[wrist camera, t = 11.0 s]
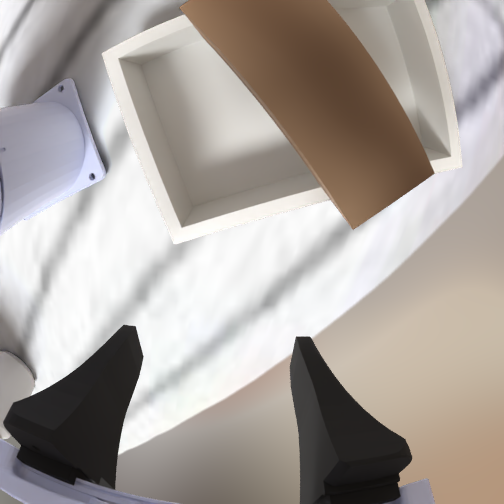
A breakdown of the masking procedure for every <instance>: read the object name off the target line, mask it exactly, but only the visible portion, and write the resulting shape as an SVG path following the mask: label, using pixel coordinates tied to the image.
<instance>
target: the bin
mask: <svg viewBox="0 0 504 504" xmlns="http://www.w3.org/2000/svg"><path fill="white" fill-rule="evenodd" d="M327 1H328V2H329V3H330V4H331V5H332V7H333V8H334V9H335V10H336V11H337V12H338V14H339V15H340V16H341V17H342V19H343V20H344V21H345V22H346V24H347V25H348V26H349V27H350V29H351V30H352V31H353V32H354V34H355V35H356V36H357V38H358V39H359V40H360V42H361V43H362V45H363V46H364V47H365V49H366V50H367V52H368V53H369V54H370V56H371V57H372V59H373V60H374V62H375V63H376V65H377V66H378V68H379V69H380V71H381V72H382V74H383V75H384V77H385V79H386V80H387V82H388V83H389V85H390V87H391V88H392V90H393V92H394V93H395V95H396V97H397V98H398V100H399V102H400V104H401V105H402V107H403V109H404V111H405V113H406V115H407V116H408V118H409V120H410V122H411V124H412V126H413V128H414V130H415V132H416V134H417V136H418V138H419V140H420V142H421V144H422V146H423V148H424V150H425V152H426V155H427V157H428V159H429V161H430V163H431V166H432V168H433V170H434V174H436V173H440V172H444V171H448V170H453V169H457V168H462V158H461V148H460V139H459V131H458V124H457V118H456V112H455V106H454V100H453V95H452V90H451V86H450V81H449V77H448V73H447V69H446V65H445V61H444V57H443V54H442V50H441V47H440V43H439V40H438V37H437V34H436V31H435V28H434V25H433V22H432V19H431V16H430V13H429V11H428V8H427V6H426V3H425V0H327ZM102 57H103V60H104V63H105V66H106V69H107V73H108V76H109V79H110V82H111V85H112V88H113V91H114V94H115V97H116V100H117V103H118V105H119V108H120V111H121V114H122V117H123V120H124V122H125V125H126V128H127V131H128V133H129V136H130V139H131V141H132V144H133V147H134V149H135V152H136V154H137V157H138V160H139V162H140V165H141V167H142V170H143V172H144V175H145V177H146V180H147V182H148V185H149V187H150V190H151V192H152V194H153V197H154V199H155V202H156V204H157V206H158V209H159V211H160V213H161V216H162V218H163V220H164V223H165V225H166V227H167V229H168V232H169V234H170V236H171V238H172V241H173V243H174V245H175V244H178V243H181V242H185V241H188V240H191V239H195V238H198V237H201V236H204V235H208V234H211V233H215V232H218V231H221V230H225V229H228V228H231V227H235V226H238V225H242V224H245V223H249V222H252V221H256V220H259V219H263V218H266V217H270V216H273V215H277V214H280V213H284V212H288V211H291V210H295V209H298V208H302V207H306V206H309V205H313V204H317V203H321V202H324V201H328V200H330V198H329V197H328V196H327V194H326V193H325V192H324V190H323V189H322V188H321V186H320V185H319V183H318V182H317V180H316V179H315V177H314V176H313V174H312V173H311V172H310V170H309V169H308V167H307V166H306V164H305V163H304V162H303V160H302V159H301V157H300V156H299V155H298V153H297V152H296V150H295V149H294V148H293V146H292V145H291V144H290V142H289V141H288V140H287V138H286V137H285V136H284V134H283V133H282V132H281V130H280V129H279V128H278V126H277V125H276V124H275V122H274V121H273V120H272V118H271V117H270V116H269V115H268V113H267V112H266V111H265V110H264V108H263V107H262V106H261V105H260V103H259V102H258V101H257V100H256V98H255V97H254V96H253V95H252V93H251V92H250V91H249V90H248V89H247V87H246V86H245V85H244V84H243V83H242V81H241V80H240V79H239V78H238V77H237V75H236V74H235V73H234V72H233V71H232V70H231V68H230V67H229V66H228V65H227V64H226V63H225V62H224V60H223V59H222V58H221V57H220V56H219V55H218V54H217V53H216V51H215V50H214V49H213V48H212V47H211V46H210V45H209V44H208V43H207V42H206V41H205V39H204V38H203V37H202V36H201V35H200V33H199V32H198V31H197V29H196V28H195V27H194V26H193V24H192V23H191V22H190V21H189V19H188V18H187V17H186V16H185V14H184V15H181V16H179V17H176V18H174V19H171V20H169V21H166V22H164V23H161V24H159V25H157V26H155V27H152V28H150V29H148V30H146V31H144V32H141V33H139V34H137V35H135V36H133V37H131V38H129V39H127V40H125V41H123V42H121V43H119V44H118V45H116V46H114V47H112V48H110V49H108V50H107V51H105V52H103V53H102Z"/></svg>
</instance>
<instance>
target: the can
mask: <svg viewBox="0 0 504 504" xmlns="http://www.w3.org/2000/svg"><path fill="white" fill-rule="evenodd" d="M34 388H35V381H34V379H33V375H32V372H31V371H30V369H29V368H28V367H27V366H26V364H25V363H24V362H23V361H22V360H20V359H19V358H18V357H17V356H15V355H14V354H12V353H10V352H7V351H4V352H3V351H0V439H7V438H9V437H10V435H11V434H10V433H9V432H8V431H7V430H6V429H5V427H4V425H3V421H4V419H5V417H6V415H7V413H8V411H9V409H10V407H11V406H12V404H13V402H16V401H19V400H22V399H24V398H27V397H30V395H31V393H32V392H33V390H34Z"/></svg>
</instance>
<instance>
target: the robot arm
mask: <svg viewBox="0 0 504 504" xmlns="http://www.w3.org/2000/svg"><path fill="white" fill-rule="evenodd" d="M62 86H63V87H64V89H63V91H61V87H62ZM92 173H93V174H94V175H95V179H93V178H92ZM105 176H106V171H105V168H104V165H103V163H102V160H101V158H100V155H99V153H98V150H97V147H96V145H95V142H94V139H93V137H92V134H91V131H90V128H89V126H88V123H87V120H86V117H85V114H84V111H83V108H82V105H81V102H80V99H79V96H78V93H77V90H76V86H75V83H74V81H73V79H71V78H66V79H64V80H63V81H61V82H60V83H58V84H57V85H56V86H54V87H53V88H51V89H50V90H49V91H47V92H46V93H45V94H43V95H42V96H41V97H39V98H38V99H37V100H36V101H34V102H33V103H32V104H25V105H18V106H12V107H6V108H0V235H2V234H3V233H4V232H6V231H7V230H9V229H10V228H11V227H13V226H14V225H16V224H17V223H18V222H20V221H21V220H23V219H24V220H28V219H30V218H32V217H33V216H35V215H37V214H38V213H40V212H42V211H44V210H45V209H47V208H49V207H51V206H52V205H54V204H56V203H58V202H60V201H61V200H63V199H65V198H67V197H69V196H71V195H73V194H75V193H76V192H78V191H80V190H82V189H84V188H86V187H88V186H90V185H92V184H94V183H96V182H98V181H100V180H102V179H104V178H105ZM142 361H143V353H142V350H141V346H140V342H139V338H138V334H137V330H136V326H128V325H123V326H122V327H121V328H120V329H119V330H118V331H117V332H116V333H115V334H114V335H113V336H112V337H111V338H110V339H109V340H108V341H107V342H106V343H105V344H104V345H103V346H102V347H101V348H100V349H99V350H97V351H96V352H95V353H94V354H93V355H92V356H91V357H90V358H89V359H88V360H86V361H85V362H84V363H83V364H82V365H81V366H80V367H78V368H77V369H76V370H74V371H73V372H72V373H70V374H69V375H68V376H66V377H65V378H63V379H62V380H60V381H58V382H57V383H55V384H53V385H52V386H50V387H48V388H46V389H44V390H43V391H41V392H38V393H36V394H34V395H32V396H30V397H27V398H24V399H22V400H19V401H16V402H13V404H12V406H11V407H10V409H9V411H8V413H7V415H6V417H5V419H4V421H3V425H4V427H5V429H6V430H7V431H8V432H9V433H10V434H11V435H12V436H13V437H14V438H15V439H16V440H17V441H18V442H19V443H20V444H21V447H20V450H19V449H18V448H16V447H15V446H13V445H11V444H9V443H7V442H6V441H4V440H2V439H0V489H1V490H3V491H4V492H6V493H7V494H9V495H10V496H12V497H14V498H15V499H17V500H19V501H21V502H22V503H24V504H179V503H172V502H167V501H161V500H156V499H150V498H146V497H141V496H137V495H132V494H128V493H124V492H121V491H117V490H115V480H116V466H117V457H118V449H119V443H120V437H121V432H122V427H123V422H124V418H125V415H126V412H127V409H128V406H129V403H130V400H131V398H132V395H133V392H134V389H135V386H136V384H137V381H138V378H139V375H140V370H141V366H142ZM290 380H291V390H292V396H293V402H294V408H295V413H296V418H297V425H298V432H299V447H300V504H435V501H434V497H433V494H432V490H431V487H430V483H429V480H428V479H427V478H426V479H423V480H420V481H416V482H413V483H410V484H406V485H403V486H401V487H398V483H397V482H399V481H400V477H399V473H400V472H401V471H402V470H403V469H404V468H405V467H406V466H408V464H409V463H410V462H411V460H412V455H411V452H410V449H409V446H408V444H407V443H406V440H405V439H404V438H402V437H401V436H399V435H398V434H396V433H394V432H393V431H391V430H389V429H388V428H387V427H385V426H384V425H382V424H381V423H380V422H378V421H377V420H376V419H375V418H373V417H372V416H371V415H370V414H369V413H368V412H366V411H365V410H364V409H363V408H362V407H361V406H360V405H359V404H358V403H357V402H356V401H355V400H354V399H353V398H352V397H351V395H350V394H349V393H348V392H347V391H346V390H345V389H344V387H343V386H342V385H341V384H340V382H339V381H338V380H337V379H336V377H335V376H334V374H333V373H332V371H331V370H330V369H329V367H328V366H327V364H326V363H325V361H324V359H323V358H322V356H321V355H320V353H319V351H318V350H317V348H316V346H315V344H314V342H313V341H312V339H311V338H310V337H296V339H295V344H294V349H293V354H292V359H291V364H290Z"/></svg>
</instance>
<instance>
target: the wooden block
mask: <svg viewBox="0 0 504 504" xmlns="http://www.w3.org/2000/svg"><path fill="white" fill-rule="evenodd" d="M179 8H180V9H181V11H182V12H183V13H184V14H185V16H186V17H187V18H188V19H189V21H190V22H191V23H192V24H193V26H194V27H195V28H196V29H197V31H198V32H199V33H200V35H201V36H202V37H203V38H204V39H205V41H206V42H207V43H208V44H209V45H210V46H211V47H212V48H213V49H214V50H215V51H216V53H217V54H218V55H219V56H220V57H221V58H222V59H223V60H224V62H225V63H226V64H227V65H228V66H229V67H230V68H231V70H232V71H233V72H234V73H235V74H236V75H237V77H238V78H239V79H240V80H241V81H242V83H243V84H244V85H245V86H246V87H247V89H248V90H249V91H250V92H251V93H252V95H253V96H254V97H255V98H256V100H257V101H258V102H259V103H260V105H261V106H262V107H263V108H264V110H265V111H266V112H267V113H268V115H269V116H270V117H271V118H272V120H273V121H274V122H275V124H276V125H277V126H278V128H279V129H280V130H281V132H282V133H283V134H284V136H285V137H286V138H287V140H288V141H289V142H290V144H291V145H292V146H293V148H294V149H295V150H296V152H297V153H298V155H299V156H300V157H301V159H302V160H303V162H304V163H305V164H306V166H307V167H308V169H309V170H310V172H311V173H312V174H313V176H314V177H315V179H316V180H317V182H318V183H319V185H320V186H321V188H322V189H323V190H324V192H325V193H326V194H327V196H328V197H329V198H330V200H331V201H332V202H333V204H334V205H335V206H336V207H337V209H338V210H339V211H340V213H341V214H342V215H343V217H344V218H345V219H346V221H347V222H348V224H349V225H350V226H351V228H352V229H355V228H356V227H358V226H359V225H361V224H362V223H364V222H365V221H367V220H368V219H370V218H371V217H373V216H374V215H376V214H377V213H379V212H380V211H382V210H383V209H384V208H386V207H387V206H389V205H390V204H392V203H393V202H395V201H396V200H398V199H399V198H400V197H402V196H403V195H405V194H406V193H408V192H409V191H410V190H412V189H413V188H415V187H416V186H418V185H419V184H420V183H422V182H423V181H425V180H426V179H427V178H429V177H430V176H432V175H433V174H434V170H433V168H432V166H431V163H430V161H429V159H428V157H427V155H426V152H425V150H424V148H423V146H422V144H421V142H420V140H419V138H418V136H417V134H416V132H415V130H414V128H413V126H412V124H411V122H410V120H409V118H408V116H407V115H406V113H405V111H404V109H403V107H402V105H401V104H400V102H399V100H398V98H397V97H396V95H395V93H394V92H393V90H392V88H391V87H390V85H389V83H388V82H387V80H386V79H385V77H384V75H383V74H382V72H381V71H380V69H379V68H378V66H377V65H376V63H375V62H374V60H373V59H372V57H371V56H370V54H369V53H368V52H367V50H366V49H365V47H364V46H363V45H362V43H361V42H360V40H359V39H358V38H357V36H356V35H355V34H354V32H353V31H352V30H351V29H350V27H349V26H348V25H347V24H346V22H345V21H344V20H343V19H342V17H341V16H340V15H339V14H338V12H337V11H336V10H335V9H334V8H333V7H332V5H331V4H330V3H329V2H328V1H327V0H189V1H187V2H186V3H185V4H183V5H182V6H180V7H179Z"/></svg>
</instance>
